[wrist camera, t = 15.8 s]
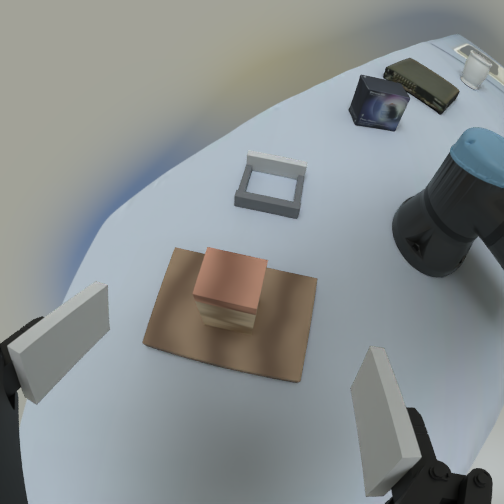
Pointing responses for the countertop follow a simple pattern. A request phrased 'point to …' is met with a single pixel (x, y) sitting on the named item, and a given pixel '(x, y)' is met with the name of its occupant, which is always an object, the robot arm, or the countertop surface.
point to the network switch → (422, 83)
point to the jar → (475, 70)
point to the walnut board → (229, 342)
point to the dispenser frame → (275, 167)
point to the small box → (378, 103)
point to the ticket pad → (229, 290)
